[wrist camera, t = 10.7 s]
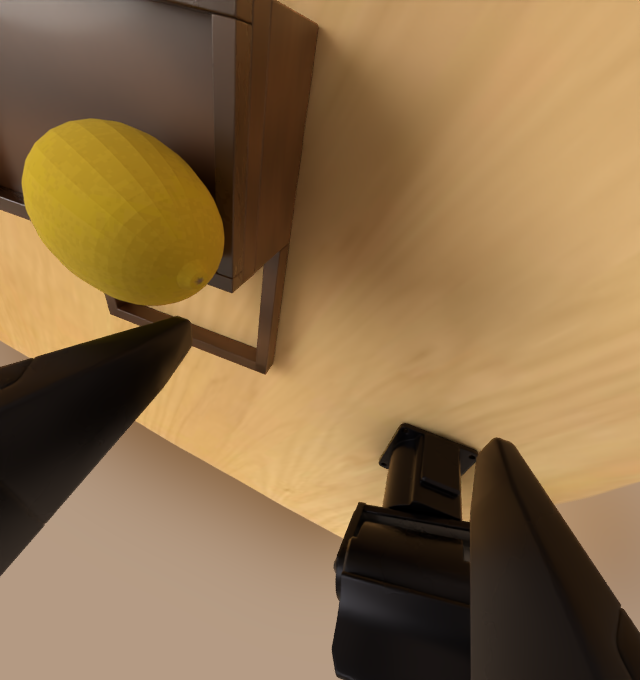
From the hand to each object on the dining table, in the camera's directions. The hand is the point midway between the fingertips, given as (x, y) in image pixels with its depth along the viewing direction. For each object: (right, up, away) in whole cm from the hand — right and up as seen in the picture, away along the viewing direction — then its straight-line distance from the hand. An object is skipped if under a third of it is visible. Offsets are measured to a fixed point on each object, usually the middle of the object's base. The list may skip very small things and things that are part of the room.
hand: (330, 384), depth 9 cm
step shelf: (-9, +10, +12) cm, 18 cm away
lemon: (-10, +8, +4) cm, 14 cm away
